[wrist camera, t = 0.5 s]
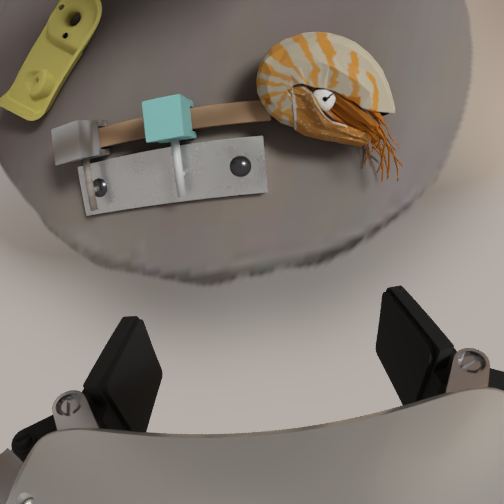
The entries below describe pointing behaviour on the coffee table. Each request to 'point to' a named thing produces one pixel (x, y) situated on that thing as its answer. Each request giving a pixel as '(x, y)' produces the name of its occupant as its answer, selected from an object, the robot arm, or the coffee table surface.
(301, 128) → the nautilus
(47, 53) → the plastic component
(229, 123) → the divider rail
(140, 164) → the bolt plate
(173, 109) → the block
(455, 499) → the robot arm
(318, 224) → the coffee table surface
